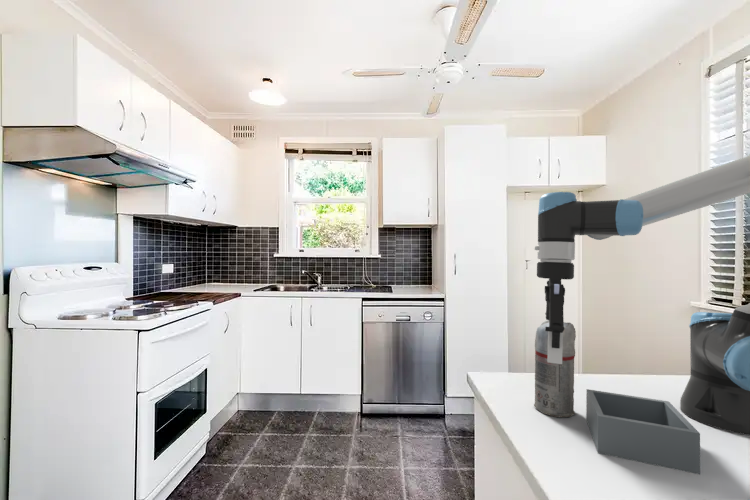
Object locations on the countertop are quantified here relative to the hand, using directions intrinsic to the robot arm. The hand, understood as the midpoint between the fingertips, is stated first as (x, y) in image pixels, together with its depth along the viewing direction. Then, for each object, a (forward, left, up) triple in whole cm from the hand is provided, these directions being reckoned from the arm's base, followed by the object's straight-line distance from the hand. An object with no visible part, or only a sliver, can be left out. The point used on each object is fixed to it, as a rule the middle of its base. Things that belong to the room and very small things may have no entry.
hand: (552, 354), depth 79 cm
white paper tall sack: (0, 0, -13) cm, 13 cm away
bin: (-13, +9, -13) cm, 20 cm away
